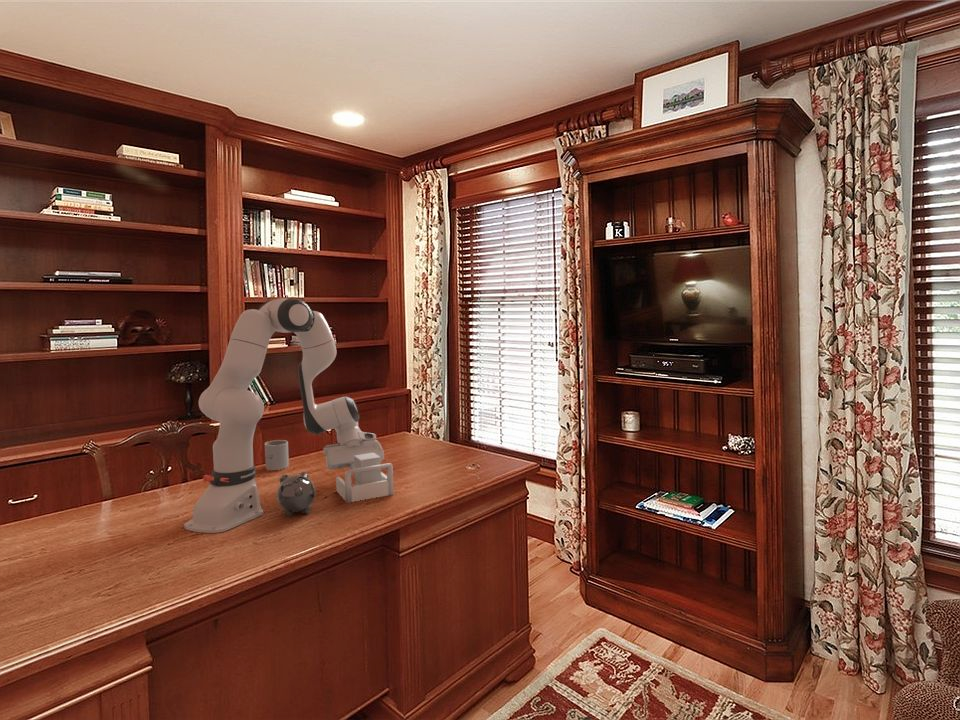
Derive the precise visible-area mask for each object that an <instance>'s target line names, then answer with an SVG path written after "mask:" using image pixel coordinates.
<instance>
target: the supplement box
mask: <svg viewBox="0 0 960 720" xmlns="http://www.w3.org/2000/svg"><path fill="white" fill-rule="evenodd" d="M380 464H382V462H381V457H380V456H378V455H377V454H375V453H367V454H361V455H355V456H354V469H355V468H361V467H368V466H374V465H380ZM381 472H382V469H380V470H374V471H368V472H361V473H355V474H353V475H354V486H355V485H360V484H366V483H372V482H377V481H381Z"/></svg>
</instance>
